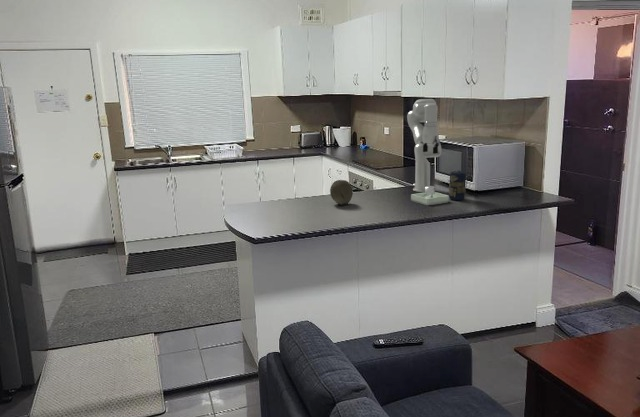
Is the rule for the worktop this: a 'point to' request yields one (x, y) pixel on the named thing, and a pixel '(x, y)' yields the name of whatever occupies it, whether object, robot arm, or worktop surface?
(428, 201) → the tray
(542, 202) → the worktop surface
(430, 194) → the metal cylinder
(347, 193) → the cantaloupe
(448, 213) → the worktop surface
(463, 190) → the canister
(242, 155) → the worktop surface
